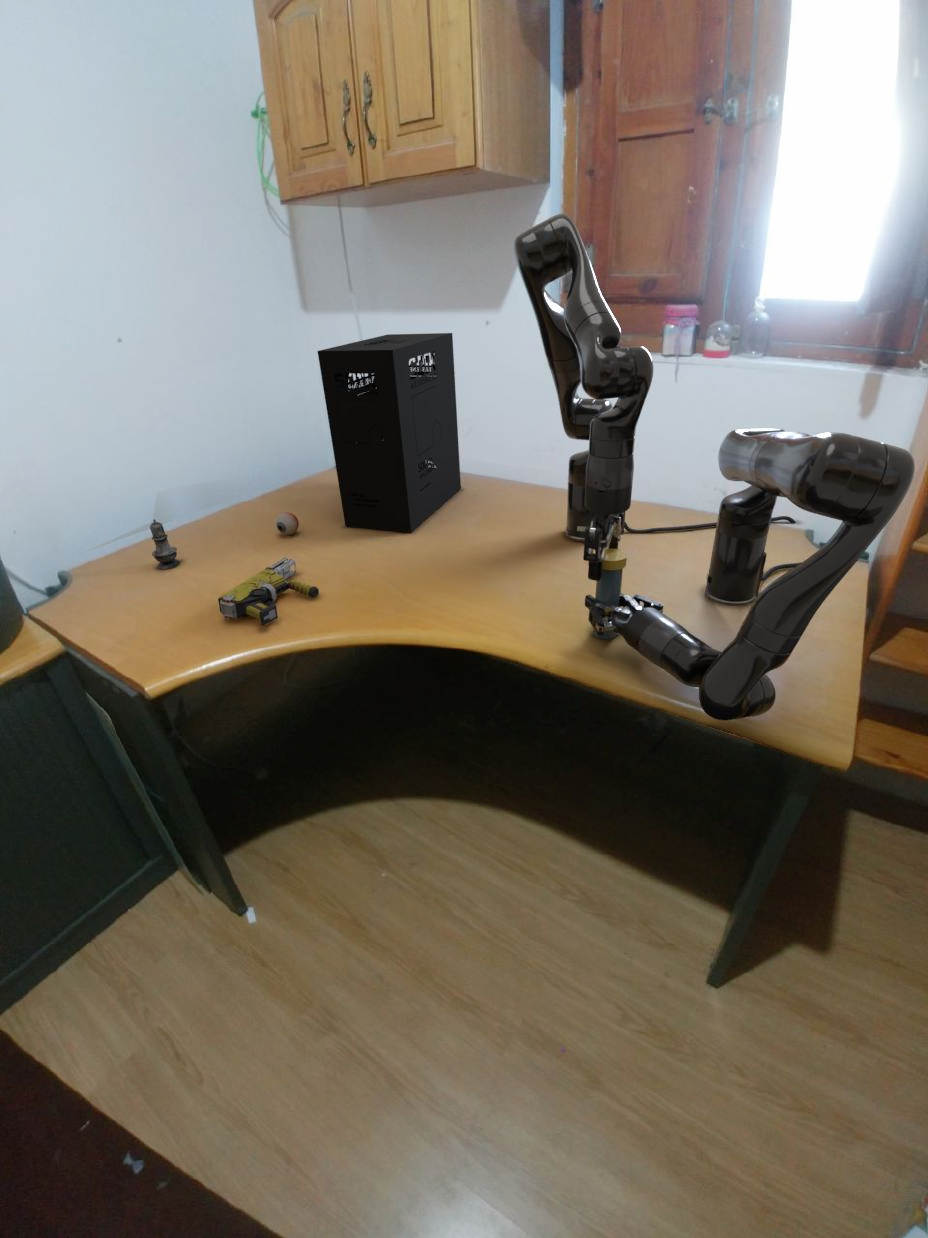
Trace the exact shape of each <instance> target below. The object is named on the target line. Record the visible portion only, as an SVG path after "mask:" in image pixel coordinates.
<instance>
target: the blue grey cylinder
mask: <svg viewBox="0 0 928 1238" xmlns="http://www.w3.org/2000/svg"><path fill="white" fill-rule="evenodd" d="M623 571H624V568H622V569H620V570H604V569H602V578H601V579H600V581H595V595H594V598H596V599H597V600H598V601H600V602H601V603H602V604H604V605H607V606H609V605H613V606H616V607H618V608H621V607H620V596H621V593H622V584H623V583H622V581H623ZM602 614H605V611H603V610H602ZM612 614H613V612H612ZM592 628H593V627H592ZM592 633H593V635H594V636H595V637H596V638H598V639H601V640H610V639H614V638H616V637H617V636H618V633H615V632H614V631H613V630H609V631H604V635H598V634H597V633H596V631H595V630H594V628H593V629H592Z"/></svg>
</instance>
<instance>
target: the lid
mask: <svg viewBox="0 0 928 1238" xmlns="http://www.w3.org/2000/svg"><path fill="white" fill-rule="evenodd" d="M627 559H628V554H627V553H626V551H624V550H621V549H619V548H618V549H612V548H608V549H606V550H605V553H604V557H603V566H602V569H604V570H620V569H622V568H623V569H624V568H625V567H626V566H627Z"/></svg>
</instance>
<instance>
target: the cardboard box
mask: <svg viewBox="0 0 928 1238" xmlns="http://www.w3.org/2000/svg"><path fill="white" fill-rule="evenodd" d="M453 337H454V336H453V332H438V333H437V332H436V333H434V332H433V333H432V332H431V333H397V334H396V333H393V334H384V335H380V336H376V337H372V338H367V339H363V340H362V339H361V340H359V341H354V342H349V343H345V344H341V345H337V346H332V347H328V348H324V349H320V350H317V357H318V363H319V371H320V376H321V381H322V387H323V394H324V400H325V407H326V413H327V420H328V427H329V431H330V438H331V439H330V440H331V445H332V450H333V457H334V463H335V464H334V465H335V470H336V476H337V483H338V488H339V494H340V502H341V508H342V515H343V520H344V526H345V527H346V528H347V527H349V528H350V527H351V528H359V529H369V530H381V531H389V532H400V533H411V534H412V533H413V532H414V531H415V530H416V529H418V528H419V526H421V525H422V524H423V523H424V522H425V521H427V520H428V519H429V518H430V517H431V516H433V514H434V513H436V512H437V511H438V510H439V509H440V508H441V507H442V506H443V505H445V504H446V503H447V502H448V501H449V500H450V499H451V498H452V497H454V496H455V495H456V494H457V493H458V492H460V490H461V489H462V481H461V465H460V463H461V462H460V448H459V428H458V411H457V410H458V409H457V393H456V392H457V391H456V377H455V375H456V374H455V373H456V372H455V358H454V338H453ZM429 354H430V355H429ZM419 357H420V359H419ZM412 359H414V360H412ZM410 360H411V361H410ZM431 361H432V363H431ZM430 363H431V364H430ZM350 374H351V375H350ZM358 374H359V375H360V376H358ZM354 376H355V379H354Z"/></svg>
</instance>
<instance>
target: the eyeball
mask: <svg viewBox="0 0 928 1238" xmlns="http://www.w3.org/2000/svg"><path fill="white" fill-rule="evenodd" d="M299 525H300V522H299V519H298V517H297V516H296V515H295V514H294V513H292V512H287V511H286V512H282V513H280V514H279V515H278V516H277V517H276V520H275V527H276V529H277V530H278V531H279V532H280V533H281V534H282V535H285V536H286V535H287V536H289V535H293V534H295V533H296V532H297V531H298V529H299Z"/></svg>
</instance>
